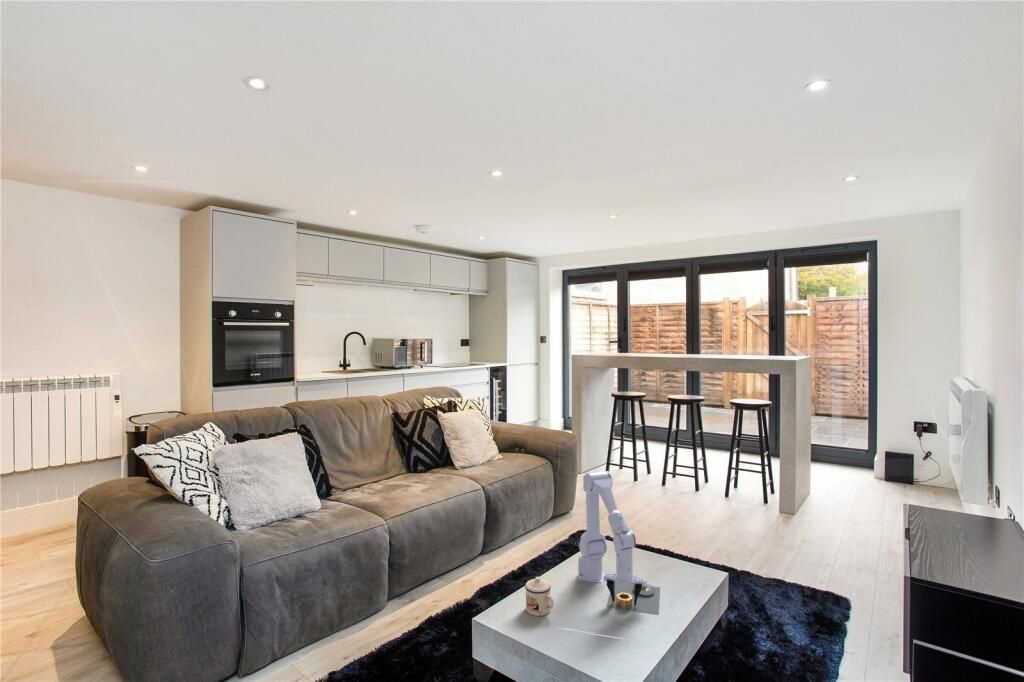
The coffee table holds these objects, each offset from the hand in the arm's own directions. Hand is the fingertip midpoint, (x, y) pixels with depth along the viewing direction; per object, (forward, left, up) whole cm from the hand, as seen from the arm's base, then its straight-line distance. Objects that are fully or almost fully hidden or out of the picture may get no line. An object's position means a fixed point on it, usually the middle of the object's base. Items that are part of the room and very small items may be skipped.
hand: (624, 602), depth 189 cm
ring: (0, 0, -1) cm, 1 cm away
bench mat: (+3, +7, -1) cm, 8 cm away
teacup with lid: (-28, -12, -2) cm, 31 cm away
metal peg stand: (+6, +12, -1) cm, 13 cm away
